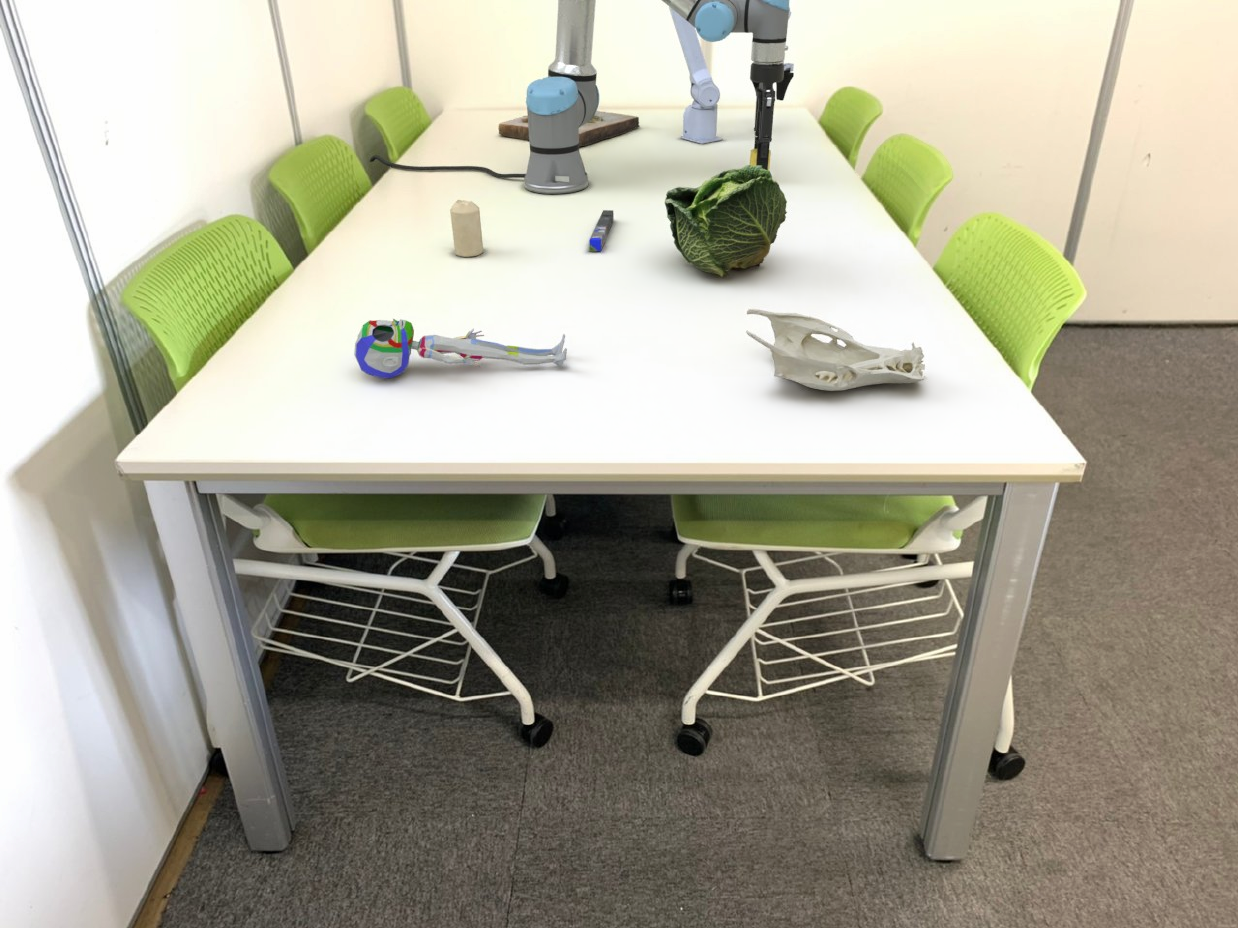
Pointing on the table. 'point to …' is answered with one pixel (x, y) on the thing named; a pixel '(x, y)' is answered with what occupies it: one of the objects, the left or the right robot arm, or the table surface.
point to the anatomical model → (834, 356)
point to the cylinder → (754, 157)
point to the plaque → (589, 133)
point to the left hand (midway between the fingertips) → (760, 167)
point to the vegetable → (727, 219)
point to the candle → (466, 228)
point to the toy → (435, 349)
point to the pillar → (601, 230)
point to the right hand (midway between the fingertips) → (770, 101)
